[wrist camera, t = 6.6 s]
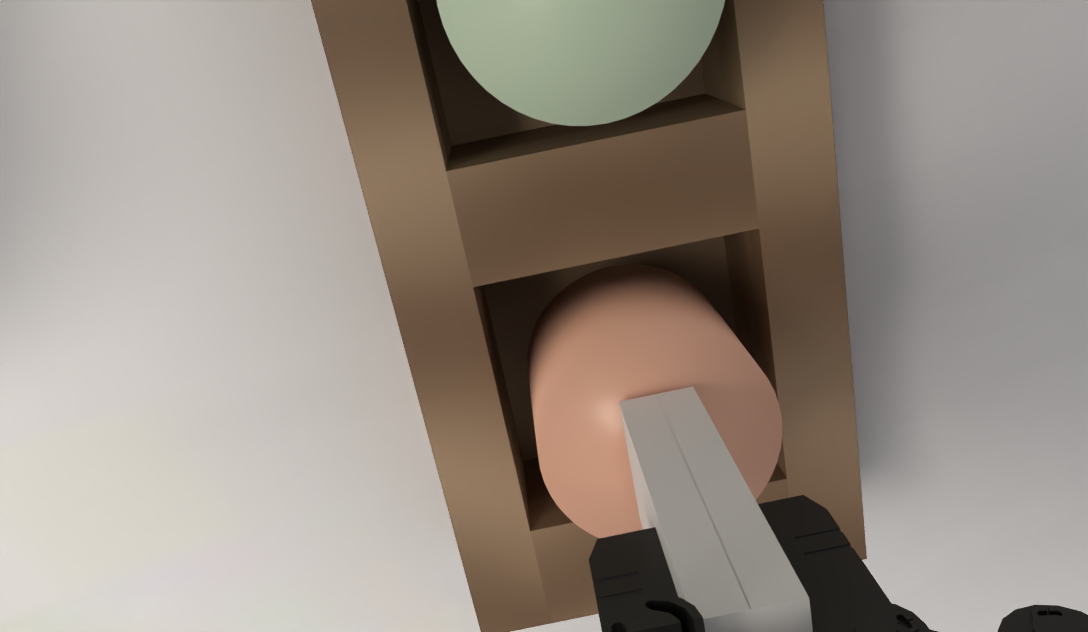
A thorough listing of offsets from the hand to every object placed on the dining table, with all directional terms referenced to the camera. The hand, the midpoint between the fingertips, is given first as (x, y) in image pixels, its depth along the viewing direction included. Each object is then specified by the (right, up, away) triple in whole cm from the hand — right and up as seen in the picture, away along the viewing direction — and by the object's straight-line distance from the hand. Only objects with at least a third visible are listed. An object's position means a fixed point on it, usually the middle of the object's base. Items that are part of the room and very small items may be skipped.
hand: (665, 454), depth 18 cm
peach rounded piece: (0, +2, +4) cm, 5 cm away
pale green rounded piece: (-2, +10, +1) cm, 10 cm away
